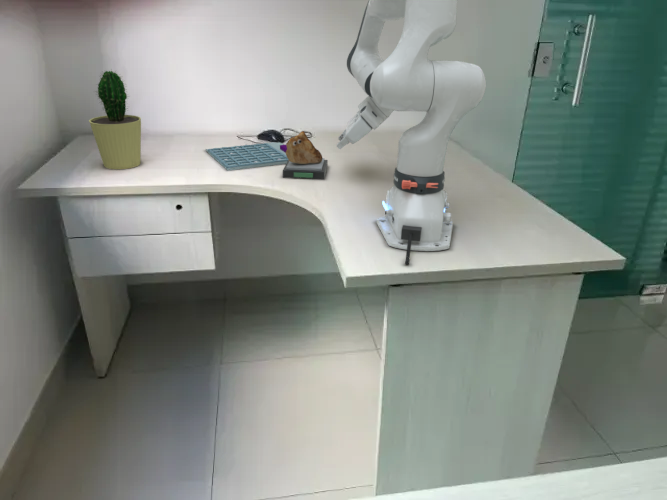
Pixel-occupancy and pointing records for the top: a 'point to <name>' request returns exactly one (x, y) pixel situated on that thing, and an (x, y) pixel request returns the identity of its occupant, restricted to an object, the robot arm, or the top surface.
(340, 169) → the top surface
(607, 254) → the top surface
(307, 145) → the decorative rock
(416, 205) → the robot arm
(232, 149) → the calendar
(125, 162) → the potted cactus
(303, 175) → the scale
